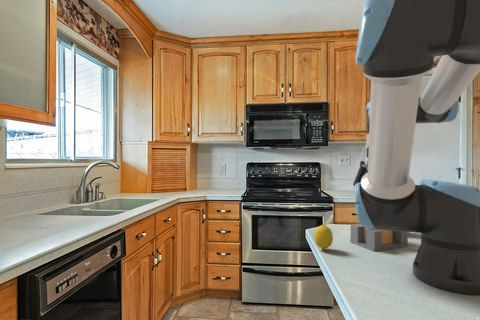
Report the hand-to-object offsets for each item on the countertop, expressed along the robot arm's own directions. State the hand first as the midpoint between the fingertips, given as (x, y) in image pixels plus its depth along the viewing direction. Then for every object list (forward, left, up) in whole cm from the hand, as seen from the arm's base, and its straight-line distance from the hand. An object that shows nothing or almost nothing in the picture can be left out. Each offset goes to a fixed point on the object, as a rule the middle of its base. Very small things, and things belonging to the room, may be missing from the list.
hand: (378, 209), depth 92 cm
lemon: (+2, +21, -12) cm, 24 cm away
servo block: (0, 0, -11) cm, 11 cm away
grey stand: (0, 0, -12) cm, 12 cm away
